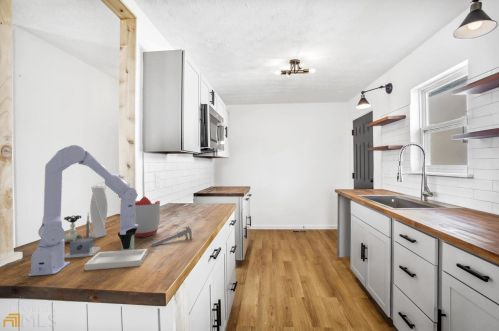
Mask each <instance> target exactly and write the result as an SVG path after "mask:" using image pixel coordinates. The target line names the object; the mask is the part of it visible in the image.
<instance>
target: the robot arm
mask: <svg viewBox="0 0 499 331" xmlns="http://www.w3.org/2000/svg"><path fill="white" fill-rule="evenodd" d="M76 164H79V165H80V166H81V165H82V166H86V167H89V168H90V169H91V170H92V171H93V172H95V173H96V174H97V175H98V176H100V177H101V178H102V179H103V180H104V182H105V183H104V185H105V186H106V185H107V186H106V187H108V188H109V189H110V190H111V191H112V192H113V193H115V194H116V195H117V197H118V198H119V199H120V205H119V208H120V209H119V210H120V212H119V214H120V216H119V218H120V219H119V220H120V221H119V222H120V226H119V229H120V230H119V232H118V233H117V237H119V239H120V243H121V242H122V246H123V249H129V247H130V241H131V237H132V235H135V232H136V230H137V227H138V224H137V225H136V224H135V201H136V199H137V198H138V195H139V194H138V192H137V190H136V189H135V188H134V187H131V184H130V183H127V182H126V181H125V180H124V179H123V177H122V175H120V174H117V173H111V172H110V171H109V170H108V169H107V168H106V167H105V166H104V165H103V164H102V163H101V162H100V161H99V160H98V159H97V158H95V157H94V156H93V155H92V154H91V152H88V150H85V149H84V147H82V146H80V145H77V144H74V145H69V146H65V147H64V148H62V149H59V150H57V151H56V153H55V154H54V155H53V156H52V157H51V159H50V160H49V161H47V163H46V164H45V166H44V186H43V187H44V188H43V189H44V190H43V193H44V194H43V215H42V216H43V217H42V221H41V222H42V223H41V225H40V227H39V229H38V231H37V232H38V236H39V238H40V240H39V242H37V249H36V250H35V251H34V252H33V253H32V254H31V258H30V272H29V273H28V274H27V276H28V277H33V276H45V275H47V276H48V275H55V274H57V273H58V272H59V271H61V270H63V269H64V268H65V267H67V266H68V265H69V264H70V263H71V262H70V261H65V258H64V255H65V240H64V236H65V235H66V232H65V230H64V228H63V224H62V192H63V190H62V188H63V171H65V170H66V169H68V168H69V167H71V166H72V165H76Z"/></svg>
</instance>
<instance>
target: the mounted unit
mask: <svg viewBox="0 0 499 331" xmlns="http://www.w3.org/2000/svg"><path fill="white" fill-rule="evenodd" d="M95 239H96V238H82V239H76V240H74V241H72V242H69V252H67V253H65V254H64V259H69V258H82V257H94V256H95V255H96V254H97V253H98V252H100V251H101V247H102V246H96V245H95V244H96V242H95V241H96V240H95Z"/></svg>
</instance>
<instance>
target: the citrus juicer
mask: <svg viewBox="0 0 499 331" xmlns="http://www.w3.org/2000/svg"><path fill="white" fill-rule="evenodd" d="M160 204H161V200H157V201H155V203H154V202H153V203H152V201H151V200H150V199H149V198H148V197H147V196H142V198H141V199H140V200H135V224H136V225H137V224H138V227H137V230H136V232H135V235H134V237H137V238H139V237H143V238H146V237H147V238H148V237H149V236H153V235H155V234H157V232H158V230H159V225H160V220H161V215H160V214H161V211H160V210H161V205H160Z"/></svg>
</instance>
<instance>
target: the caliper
mask: <svg viewBox="0 0 499 331" xmlns="http://www.w3.org/2000/svg"><path fill="white" fill-rule="evenodd" d="M192 234H193V232H192V228H191V227H190V226H189V225H187V226H185V229H182V230H180V231H177V232H176V233H175V234H172V235H170V236H167V237H163V238H162V239H159V240H156V241H154V242H151V243H150V244H149V245H148V247H149V248H150V247H155V246H158V245H161V244H163V243H166V242H169V241H171V240H173V239H176V238H178V239H181V238H182V237H185V238H186V239H187V240H188V239H189V238H190V239H192V237H193V236H192Z"/></svg>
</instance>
